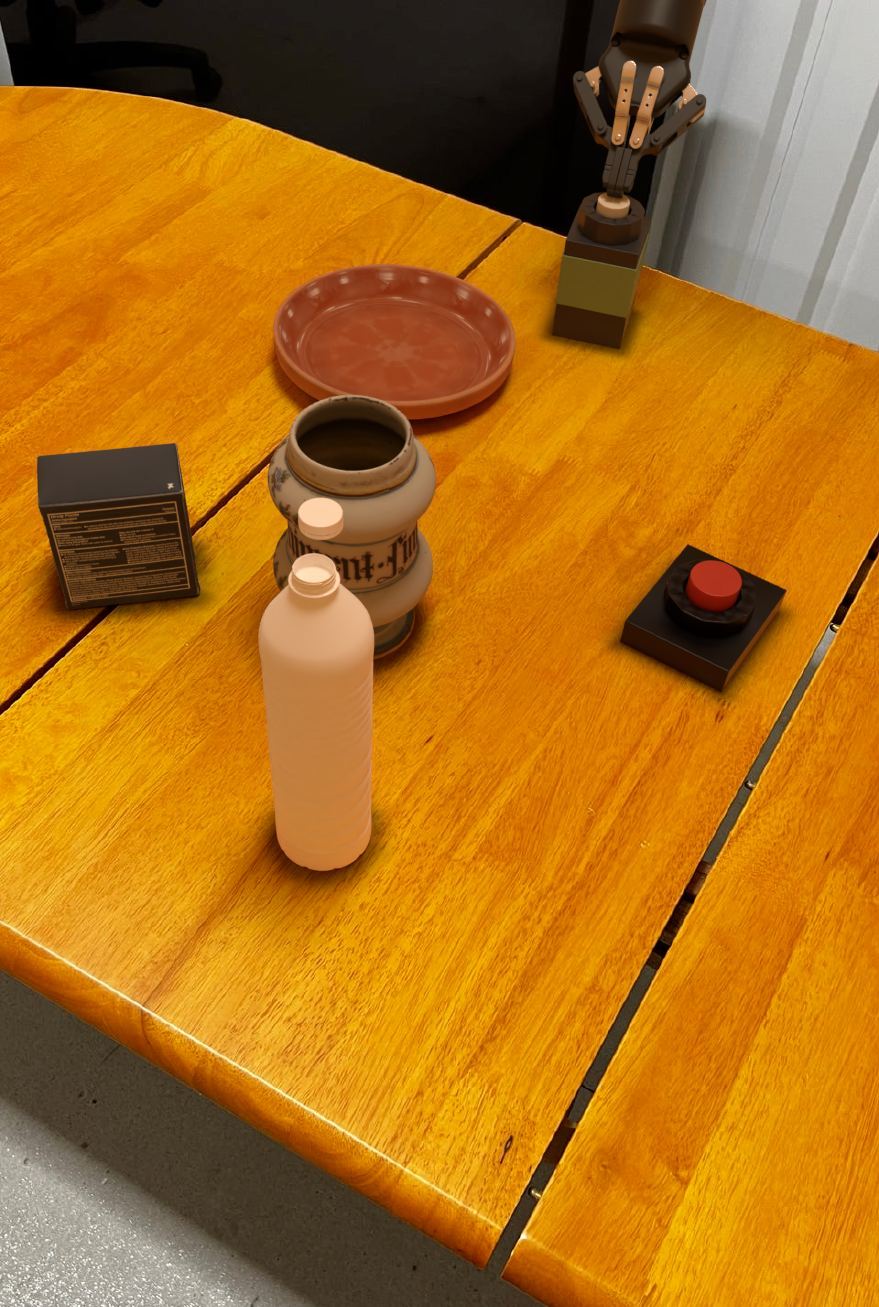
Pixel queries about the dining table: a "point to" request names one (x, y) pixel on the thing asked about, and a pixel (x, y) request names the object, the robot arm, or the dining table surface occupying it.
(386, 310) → the saucer
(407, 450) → the apothecary jar
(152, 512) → the small box
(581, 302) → the pump bottle label
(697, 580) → the bell button
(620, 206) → the tan cylindrical peg
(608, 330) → the pump bottle
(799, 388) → the dining table surface
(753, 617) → the button housing
